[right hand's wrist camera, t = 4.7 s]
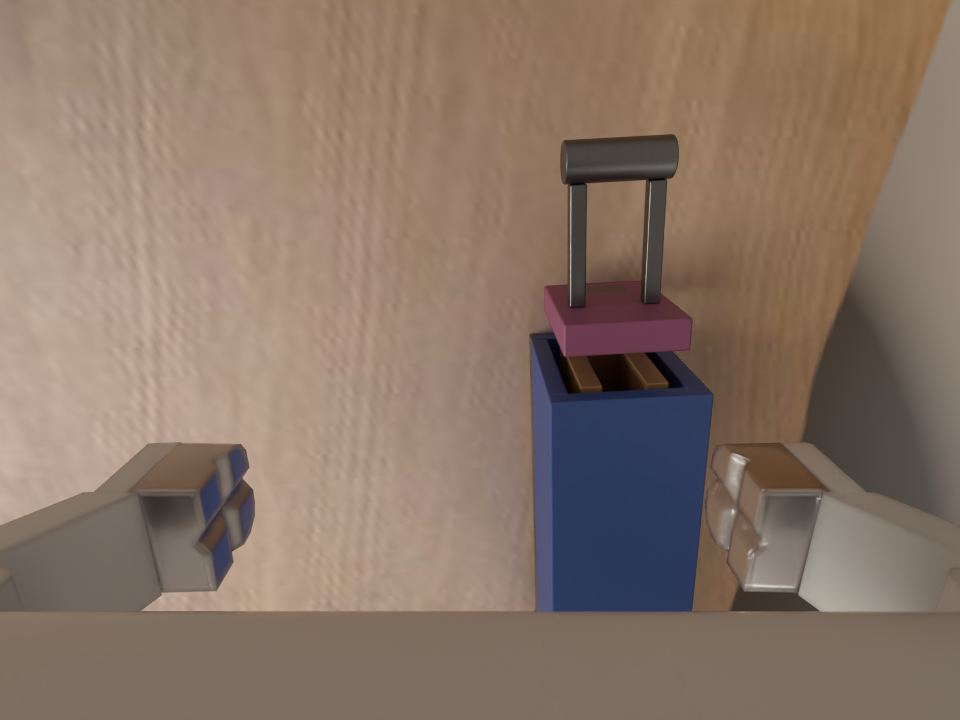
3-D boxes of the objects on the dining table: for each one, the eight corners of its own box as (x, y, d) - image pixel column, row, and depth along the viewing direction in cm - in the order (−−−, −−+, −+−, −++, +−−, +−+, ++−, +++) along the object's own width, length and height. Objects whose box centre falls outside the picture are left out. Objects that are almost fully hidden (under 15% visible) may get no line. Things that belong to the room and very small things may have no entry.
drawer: (541, 140, 23) (563, 140, 18) (653, 134, 23) (708, 132, 18) (548, 606, 32) (564, 703, 26) (629, 602, 32) (662, 698, 26)
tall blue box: (529, 334, 27) (549, 402, 20) (651, 327, 27) (714, 393, 20) (536, 643, 34) (553, 776, 27) (633, 638, 34) (677, 770, 27)
